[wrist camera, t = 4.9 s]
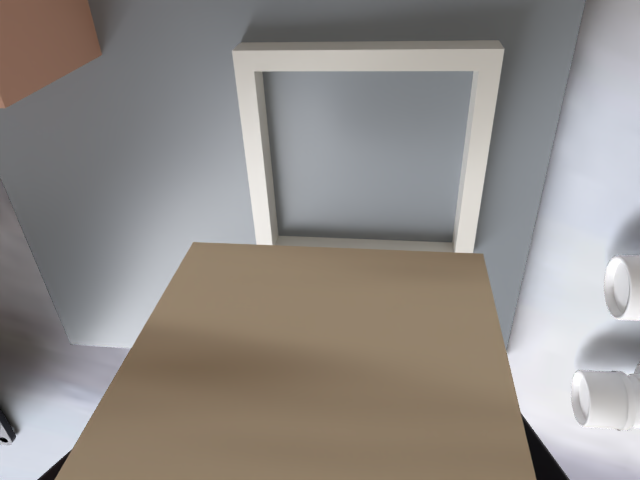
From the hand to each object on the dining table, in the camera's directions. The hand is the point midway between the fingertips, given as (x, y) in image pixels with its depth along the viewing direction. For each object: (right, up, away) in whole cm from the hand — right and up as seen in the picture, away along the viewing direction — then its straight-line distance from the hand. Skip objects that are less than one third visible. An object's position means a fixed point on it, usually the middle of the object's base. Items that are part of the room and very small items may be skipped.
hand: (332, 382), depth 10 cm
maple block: (0, 0, +1) cm, 1 cm away
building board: (-3, +6, +9) cm, 11 cm away
